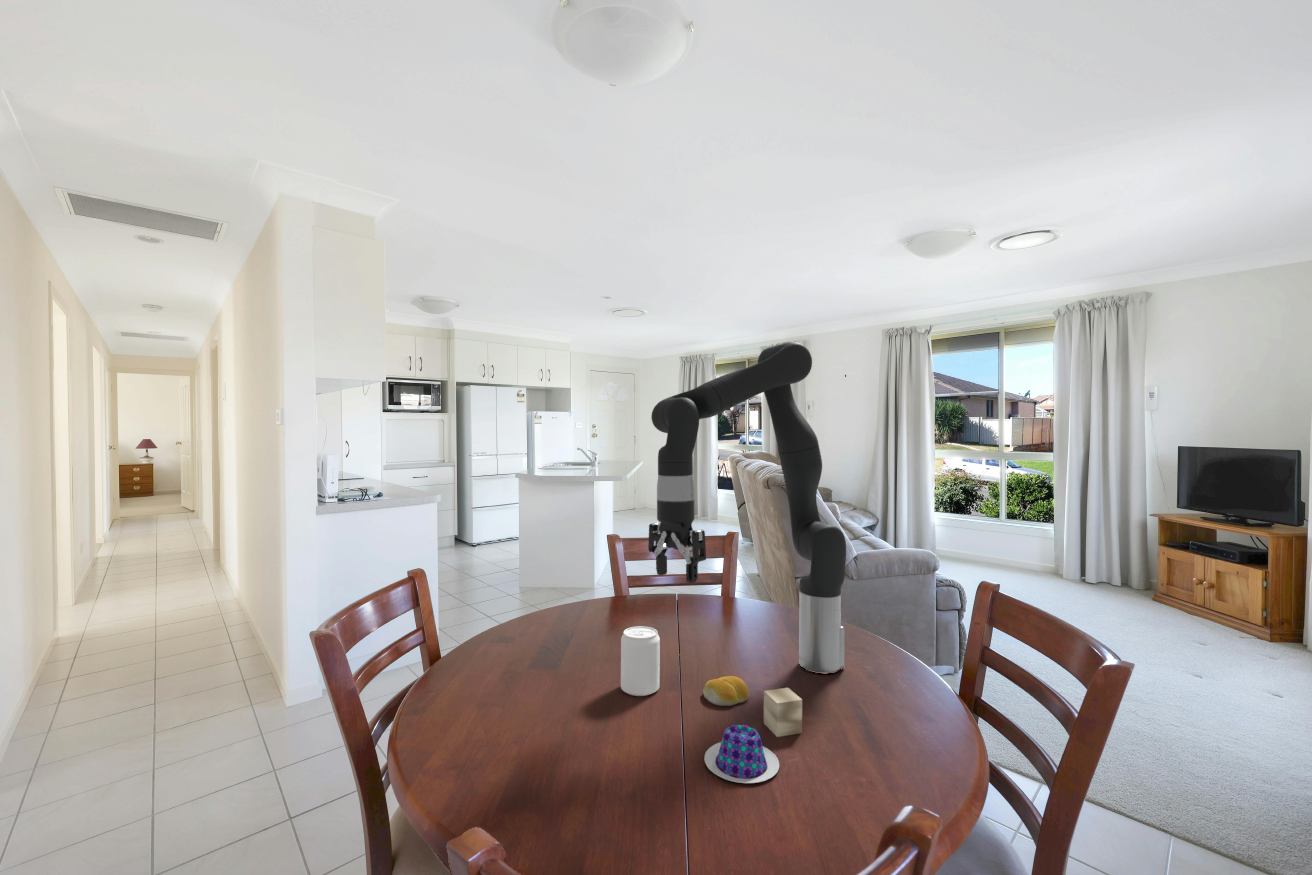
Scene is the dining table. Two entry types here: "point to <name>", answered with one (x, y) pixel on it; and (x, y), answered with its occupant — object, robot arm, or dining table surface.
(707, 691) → the bread roll
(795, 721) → the beech block
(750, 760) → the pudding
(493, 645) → the dining table surface
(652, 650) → the beverage can
